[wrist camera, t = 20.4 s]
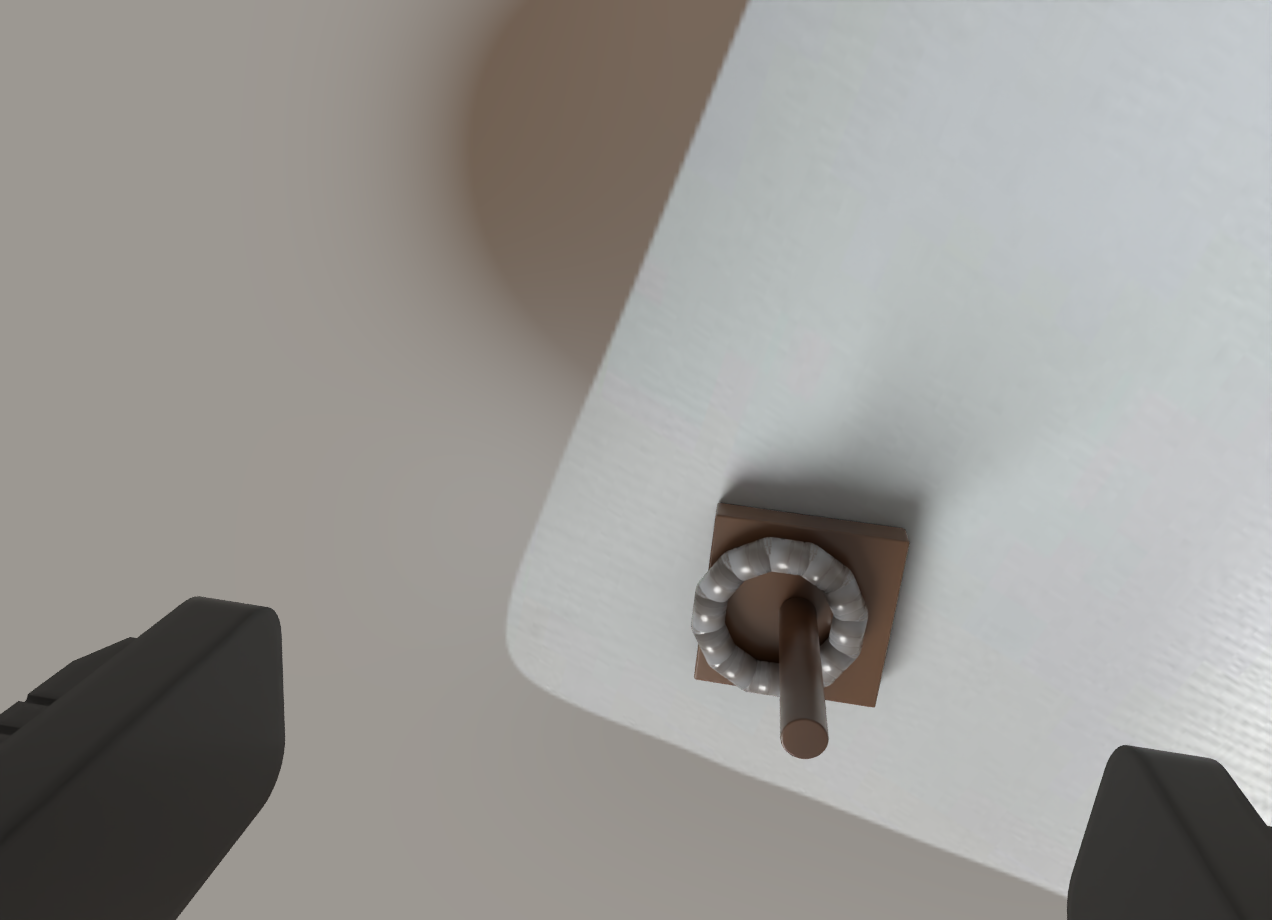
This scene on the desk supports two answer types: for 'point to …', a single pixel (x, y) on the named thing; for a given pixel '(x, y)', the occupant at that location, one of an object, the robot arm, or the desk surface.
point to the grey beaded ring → (782, 559)
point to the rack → (809, 614)
